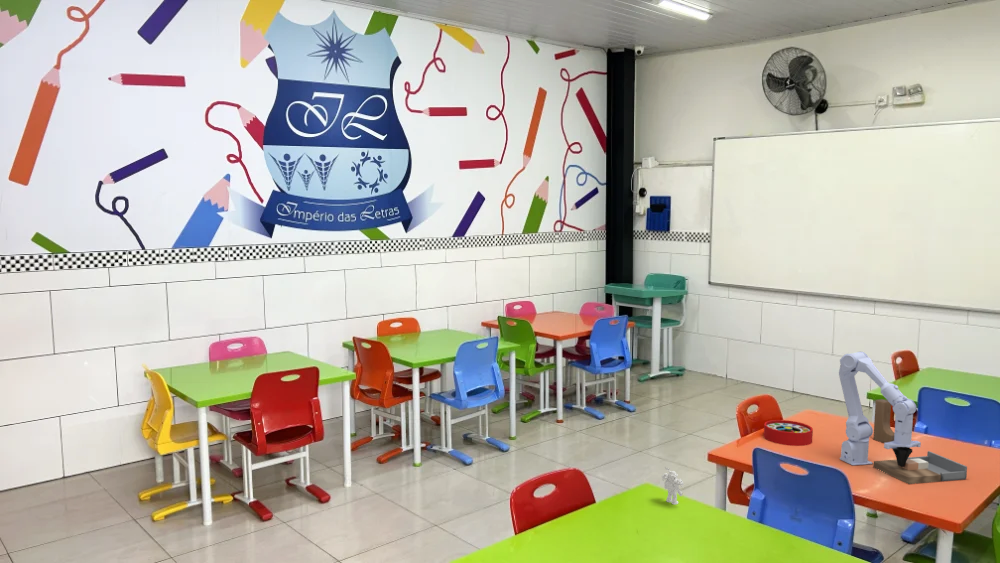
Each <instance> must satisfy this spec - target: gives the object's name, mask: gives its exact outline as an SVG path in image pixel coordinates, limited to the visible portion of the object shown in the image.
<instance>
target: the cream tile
mask: <svg viewBox="0 0 1000 563" xmlns="http://www.w3.org/2000/svg"><path fill="white" fill-rule="evenodd" d="M910 460H913V461H915V462H917V463H918V469H928V462H927V461H924V460H922V459H920V458H917V459H910Z"/></svg>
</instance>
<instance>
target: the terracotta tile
mask: <svg viewBox="0 0 1000 563" xmlns="http://www.w3.org/2000/svg"><path fill="white" fill-rule="evenodd" d="M902 468H904V469H906V470H918V463H917V462H915V461H913V460H910V459H907V461H906V464H905V467H902Z"/></svg>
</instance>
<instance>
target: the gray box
mask: <svg viewBox="0 0 1000 563" xmlns="http://www.w3.org/2000/svg"><path fill="white" fill-rule="evenodd" d="M926 454H927V455H924V456H911V457H910V456H909V457H908V459H917V458H920V459H922V460H924V461H927V462H928V470H931V471H933V472H935V473H937V474H940V475H941V481H940V482H950V481H953V482H954V481H961V480H962V481H963V480H967V475H968V466H967V465H964V464H962V463H960V462H957V461H955V460H953V459H949V458H948V457H945V456H942V455H940V454H937V453H935V452H933V451H930V450H927V452H926Z"/></svg>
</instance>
